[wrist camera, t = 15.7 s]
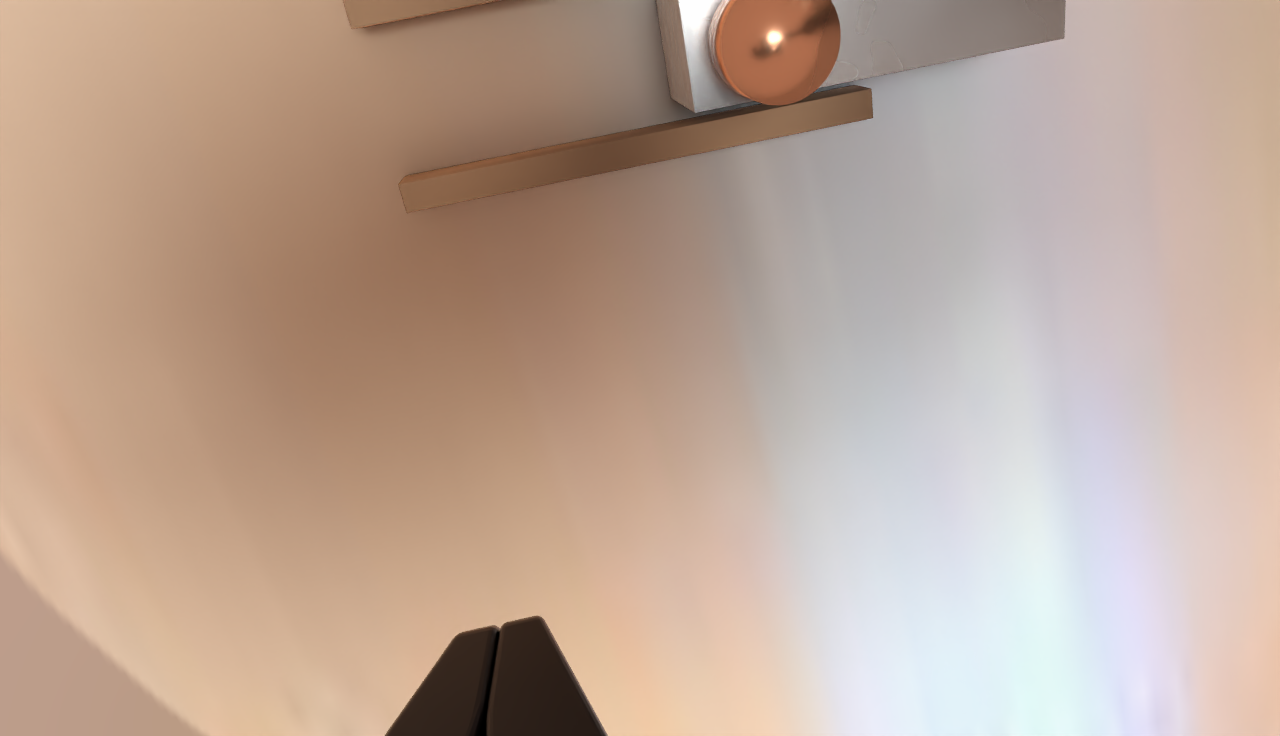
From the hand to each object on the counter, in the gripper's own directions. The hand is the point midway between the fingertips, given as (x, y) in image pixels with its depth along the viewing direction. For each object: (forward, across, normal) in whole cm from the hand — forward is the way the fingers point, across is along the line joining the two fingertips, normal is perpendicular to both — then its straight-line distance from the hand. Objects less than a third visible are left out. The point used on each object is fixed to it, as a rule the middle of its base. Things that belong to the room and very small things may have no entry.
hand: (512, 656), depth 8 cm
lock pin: (+12, -7, -4) cm, 15 cm away
